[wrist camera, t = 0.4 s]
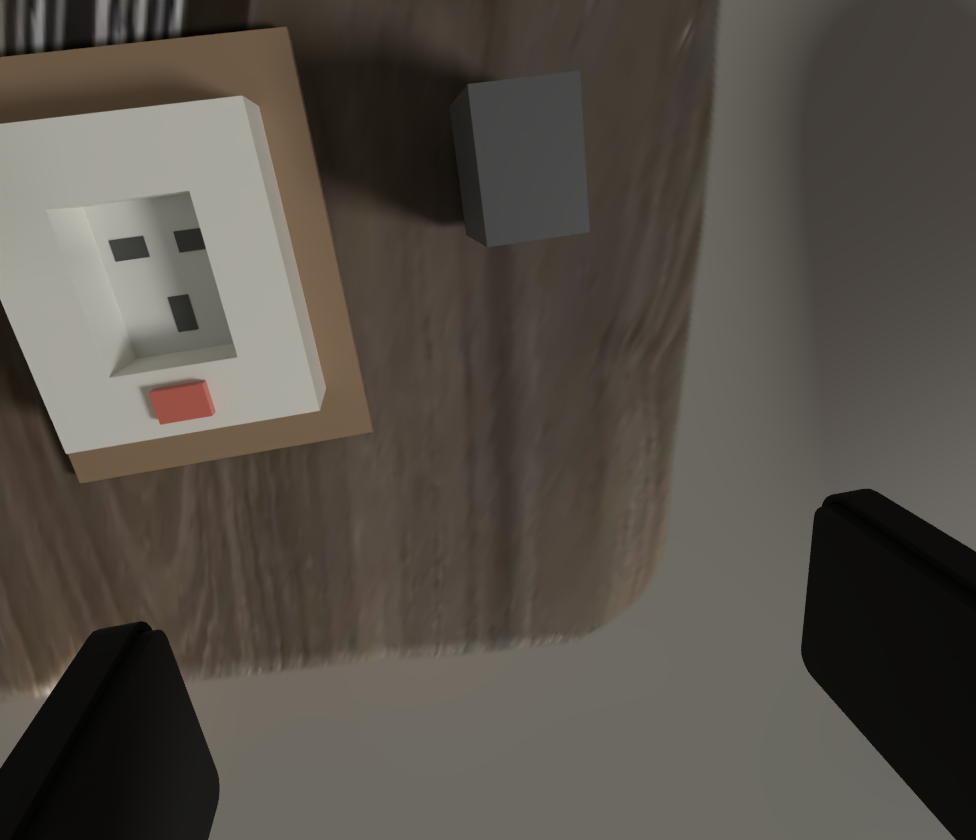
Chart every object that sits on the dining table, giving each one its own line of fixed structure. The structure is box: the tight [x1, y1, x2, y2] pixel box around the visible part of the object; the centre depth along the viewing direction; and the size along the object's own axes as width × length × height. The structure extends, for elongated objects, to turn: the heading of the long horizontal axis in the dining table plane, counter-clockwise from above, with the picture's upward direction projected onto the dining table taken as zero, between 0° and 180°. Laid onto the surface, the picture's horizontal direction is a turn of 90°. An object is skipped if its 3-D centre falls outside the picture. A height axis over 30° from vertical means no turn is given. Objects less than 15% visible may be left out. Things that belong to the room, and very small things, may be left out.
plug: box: [449, 71, 590, 247], centre depth 28 cm, size 6×4×8 cm
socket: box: [0, 27, 373, 483], centre depth 29 cm, size 20×16×5 cm
